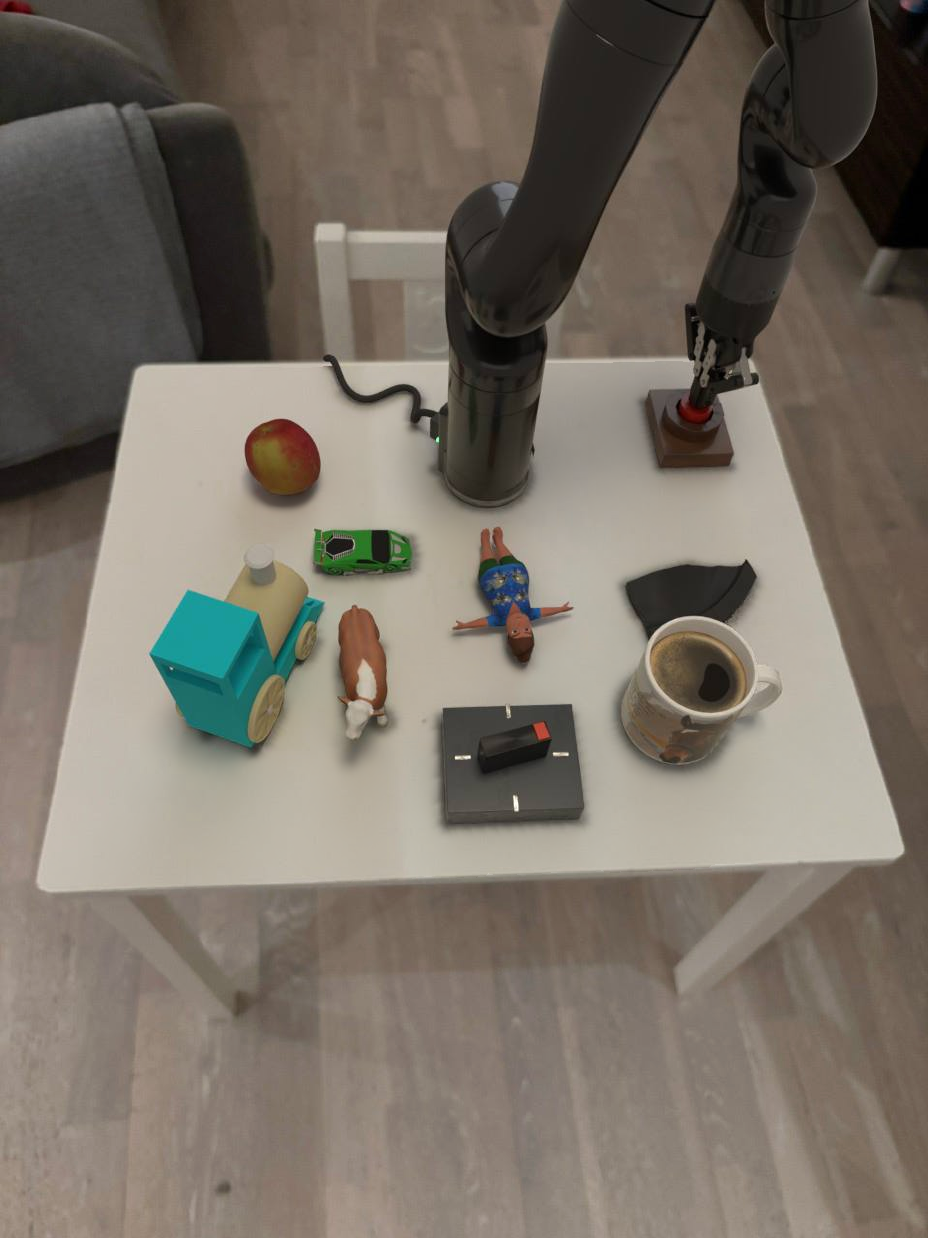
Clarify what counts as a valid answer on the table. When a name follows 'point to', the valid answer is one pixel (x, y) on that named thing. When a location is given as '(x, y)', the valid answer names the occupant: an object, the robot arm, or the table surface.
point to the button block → (687, 433)
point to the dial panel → (515, 789)
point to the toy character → (508, 596)
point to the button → (693, 411)
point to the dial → (514, 747)
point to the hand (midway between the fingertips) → (698, 403)
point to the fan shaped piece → (690, 592)
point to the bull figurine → (362, 670)
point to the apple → (282, 457)
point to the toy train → (238, 649)
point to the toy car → (361, 551)
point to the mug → (693, 689)
